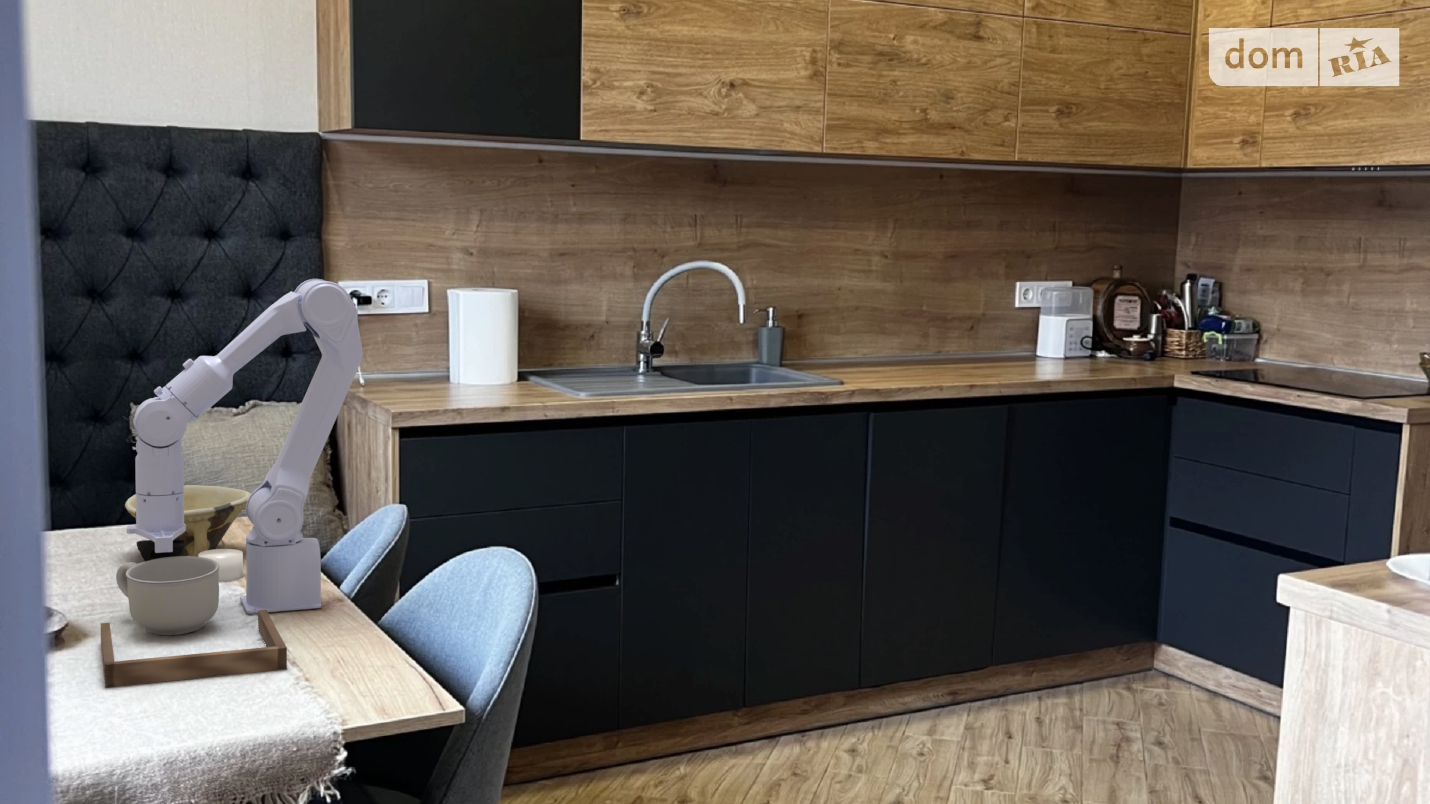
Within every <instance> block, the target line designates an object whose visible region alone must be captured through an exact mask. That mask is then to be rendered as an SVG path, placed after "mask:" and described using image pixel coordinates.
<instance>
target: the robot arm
mask: <svg viewBox="0 0 1430 804" xmlns="http://www.w3.org/2000/svg"><path fill="white" fill-rule="evenodd" d="M358 315H359V314H358V309H357V306H356V305H355V304H354V302H353V300H352V298H351V297H350V295H349V293H348V292H347V290H346V289H345V288H344V287H343V286H342V285H340V284H338V283H336V282H333V281H327V280H324V279H322V278H321V279H320V278H311V279H308V280H305V281H303V282H301V283H300V284H299V285H298V286H297V287H296V289H295V290H294V291H289V292H288V293H286V294H284V295H283V296H282V297H280V298H278V300H276V301H275V302H274V303H273V304H271V305H270V306H268V308H266V309H265V310H264V311H263V312H262V313H261V314H259V316H258V317H256V318H255V319H254V320H253V321H252V322H251V323H250V324H248V326H247V327H246V328H245V329H244V330H243V331H241V332H240V333H239V334H238V335H237V336H236V337H235V338H234V339H233V340H232V341H231V342H229V343H228V344H227V345H226V346H225V347H224V348H223V349H222V350H220V351H219V353H217V354H216V355H214V356H213V355H200V356H198V357H197V358H196V359H195V360H192V358H188V359H187V360H186V361H185V362H184V363H182V367H183V368H184V369H183V370H182V371H181V372H179V373H178V375H176V376H175V377H174V378H172V379H171V380H170V381H169V382H168V383H167V384H166V385H165V386H163V387H161V386H157V387H156V388H155V389H154V390H153V393H154V394H155V395H156V396H154V397H153V398H152V397H151V398H148V399H146V400H144V401H143V402H142V403H140V404H139V405H138V406H137V408H136V410H135V413H134V418H132V423H133V427H134V429H135V431H136V433H137V435H138V436H137V441H136V444H135V449H136V453H137V454H136V456H135V459H134V460H135V461H134V462H135V465H134V466H135V494H136V518H135V521H136V522H135V523H136V524H134V525H133V524H132V525H127V526H126V534H129V535H133V534H136V535H137V536H140V537H143V538H145V539H144V540H143V539H142V540H139V541H136V547H137V550H138V552H139V554H140V557H142V559H143V562H145V561H149V560H153V559H159V558H165V557H176V556H180V555H181V553H182V551H183V549H184V547H185V544H184V539H183V538H182V537H178V536H179V535H181V534H182V533H184V532H185V531H186V524H185V523H184V484H185V479H184V478H185V477H184V476H185V473H184V472H185V471H184V470H185V469H184V468H185V467H184V465H185V464H184V463H185V462H184V461H185V460H184V455H183V453H182V439H183V437H184V435H185V434H186V431H187V424H188V423H191V422H195V421H197V420H198V419H199V418H200V417H201V416H203V415H204V414H205V413H206V412H207V411H208V410H209V409H210V408H211V407H213V406H214V405H215V404H216V403H218V402H219V401H220V400H221V399H222V398H223V397H224V396H225V395H227V394H228V393H229V392H230V391H232V389H233V384H234V383H233V381H234V378H233V377H234V375H235V373H237V372H238V371H239V370H240V369H242V368H243V367H244V366H246V365H247V364H248V363H249V362H250V361H251V360H253V359H254V358H255V357H256V356H258V355H259V354H260V353H261V352H263V351H264V350H265V349H267V348H268V347H270V345H271V344H273V343H274V342H275V341H277V340H278V339H279V338H280V337H281V336H282V337H283V336H284V335H291V334H296V333H301V332H306V331H307V329H308V330H309V331H311V333H312V337H313V338H314V340H315V342H316V344H317V346H318V348H319V351H320V352H321V358H320V359H319V363H318V365H317V368H316V370H315V372H314V375H313V376H312V379H311V381H310V384H309V386H308V388H307V390H306V393H305V395H304V397H303V399H302V402H301V403H300V406H299V408H298V411H297V412H296V415H295V417H294V419H293V421H292V423H291V426H290V429H289V431H288V433H287V435H286V438H285V441H284V443H283V444H282V447H281V449H280V451H279V454H278V457H277V459H276V460H275V462H274V464H273V465H272V467H271V468H270V469H269V471H268V472H267V473H266V475H265V478H264V480H263V482H262V483H261V484H260V485H259V486H258V487H257V488H256V489H255V490H253V491H252V492H251V495H250V496H249V498H248V500H247V504H246V509H245V510H246V511H245V512H246V516H247V518H248V520H249V521H250V523H251V524H252V525H253V526H252V528H251V530H250V532H249V533H248V534H247V535H246V536H245V550H246V551H245V557H246V558H245V569H246V570H245V574H246V575H245V576H246V577H245V578H246V579H245V582H246V583H245V586H246V587H245V589H246V590H245V591H246V593H245V594H246V595H241V596H240V597H239V600H240V601H241V604H242V606H243V608H244V610H245V612H246V614H250V615H253V614H258V610H267V612H268V613H277V612H287V611H299V610H310V609H320V608H322V605H323V604H322V602H321V601H322V598H321V597H322V595H321V594H322V593H321V592H322V591H321V590H322V588H321V587H322V583H321V582H322V579H321V578H322V576H321V575H322V571H321V570H322V569H321V568H322V566H321V565H322V564H321V563H322V561H321V548H320V547H321V546H320V543H319V540H318V538H316V537H304V534H303V533H302V531H301V529H302V527H303V525H304V518H305V517H304V505H305V504H306V503H305V502H306V500H307V497H308V495H309V489H310V481H311V477H312V475H313V473H314V472H315V471H314V470H315V468H316V465H317V463H318V462H319V459H320V457H321V454H322V452H323V450H324V448H325V445H326V443H327V441H328V438H329V436H330V434H331V431H332V429H333V426H334V424H335V422H336V421H337V418H338V416H339V414H340V410H341V409H342V406H343V404H344V401H345V399H346V397H347V395H348V392H349V390H350V387H351V386H352V383H353V382H354V378H355V376H356V375H357V372H358V369H359V367H360V365H361V363H362V361H363V356H364V352H363V346H362V345H363V343H362V339H361V334H360V327H359V322H358V321H359V320H358Z"/></svg>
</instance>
